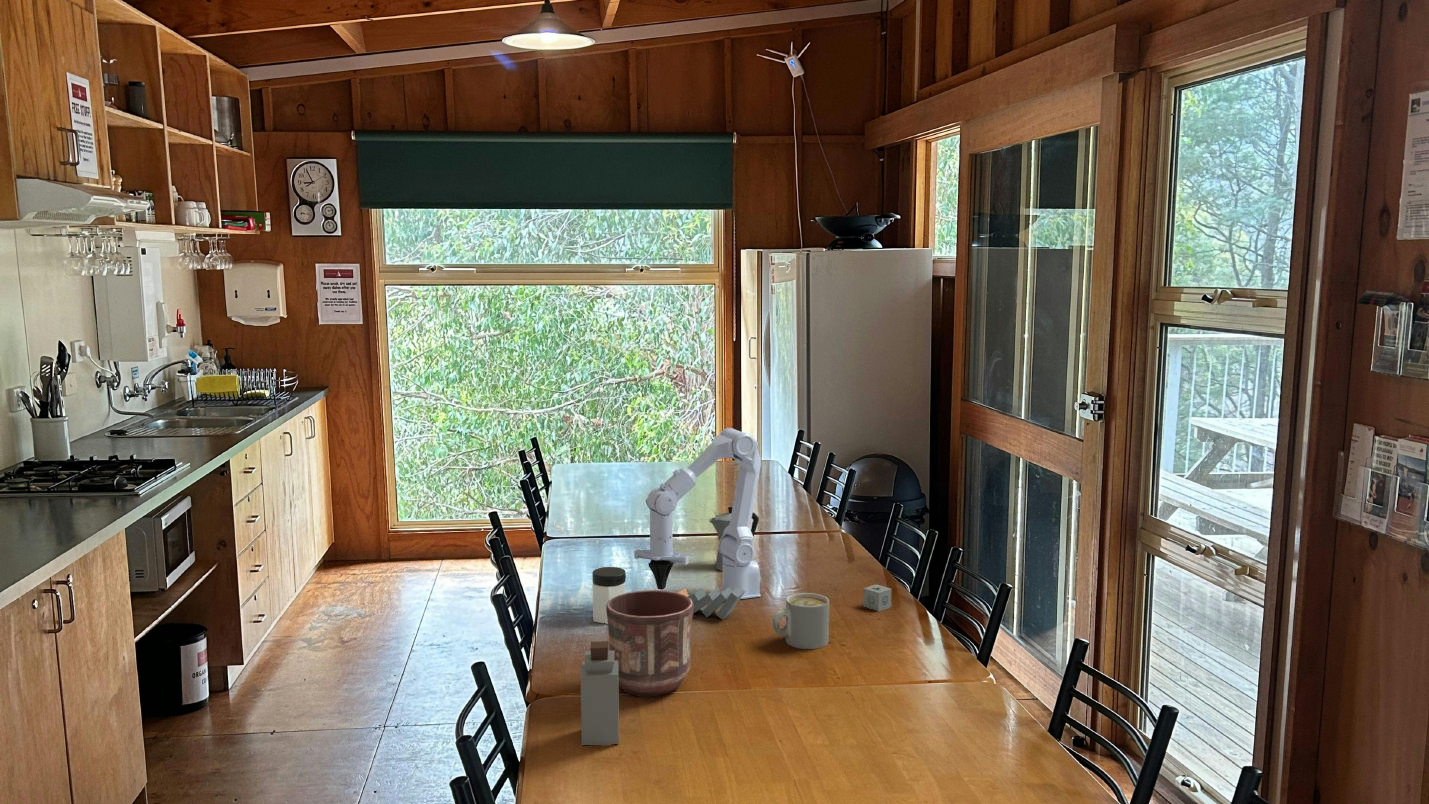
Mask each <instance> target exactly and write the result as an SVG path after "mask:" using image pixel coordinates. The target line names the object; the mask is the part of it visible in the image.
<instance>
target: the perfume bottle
mask: <svg viewBox="0 0 1429 804" xmlns="http://www.w3.org/2000/svg"><path fill="white" fill-rule="evenodd" d="M584 651H585V652H584V653H585V654H584V661H581V668H580V669H581V670H580V706H581V707H580V710H581V711H580V714H581V715H580V716H581V718H580V719H581V721H580V723H581V727H580V728H581V746H582V745H602V746H610V745H609V744H619V745H620V699H619V697H620V696H619V695H620V694H619V693H620V692H619V691H620V690H619V689H620V686H619V676H618V660H616V661H614V653H615V650H613V651H609V640H607V641H606V640H603V641H601V640H600V641H599V640H598V641H590V650H584Z"/></svg>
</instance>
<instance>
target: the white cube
mask: <svg viewBox="0 0 1429 804" xmlns="http://www.w3.org/2000/svg"><path fill="white" fill-rule="evenodd" d="M862 602H863V604H862V607H863V606H864V607H863V608H865V607H867V608H866V609H868V608H869V609H870V610H871V609H873V610H872V611H875V610H876V611H875V612H882V611H885V610H888V609H890V607H891V608H892V588H890V587H887V586H883V585H881V584H873V585H870V586H866V587H863V601H862ZM869 609H868V610H869ZM884 609H885V610H884ZM881 610H882V611H881Z"/></svg>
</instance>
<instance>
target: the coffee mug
mask: <svg viewBox="0 0 1429 804" xmlns="http://www.w3.org/2000/svg"><path fill="white" fill-rule="evenodd" d="M784 617H785V625H784V627H783V628H780V620H781V619H782V618H784ZM772 627H773V630H774V631H775V633H776V634H777V635H780V636H783V637H785V642H786V644H787V645H788V646H790V647H792V648H797V649H802V650H816V649H821V648H824V647H826V646H827V645H828V644H829V639H830V637H829V635H830V633H829V632H830V630H829V627H830V599H829V598H828V597H827V596H824V595H822V594H820V593H819V594H818V593H812V592H801V593H794V594H790V595H788V596H787V597H786V600H785V608H783V609H779V610H778V611H776V612H775V613H774V615H773V618H772Z"/></svg>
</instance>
